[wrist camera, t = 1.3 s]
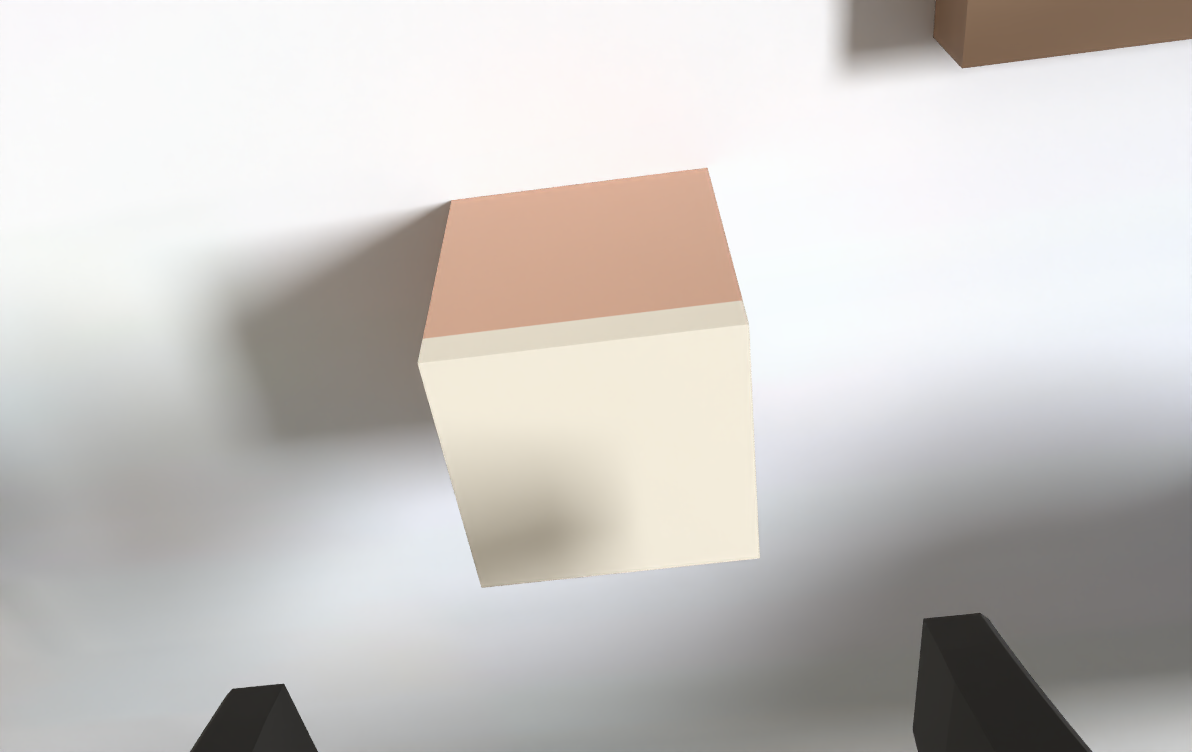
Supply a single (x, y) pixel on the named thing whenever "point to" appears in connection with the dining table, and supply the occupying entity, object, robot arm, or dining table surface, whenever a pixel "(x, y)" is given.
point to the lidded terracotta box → (593, 380)
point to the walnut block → (1053, 27)
